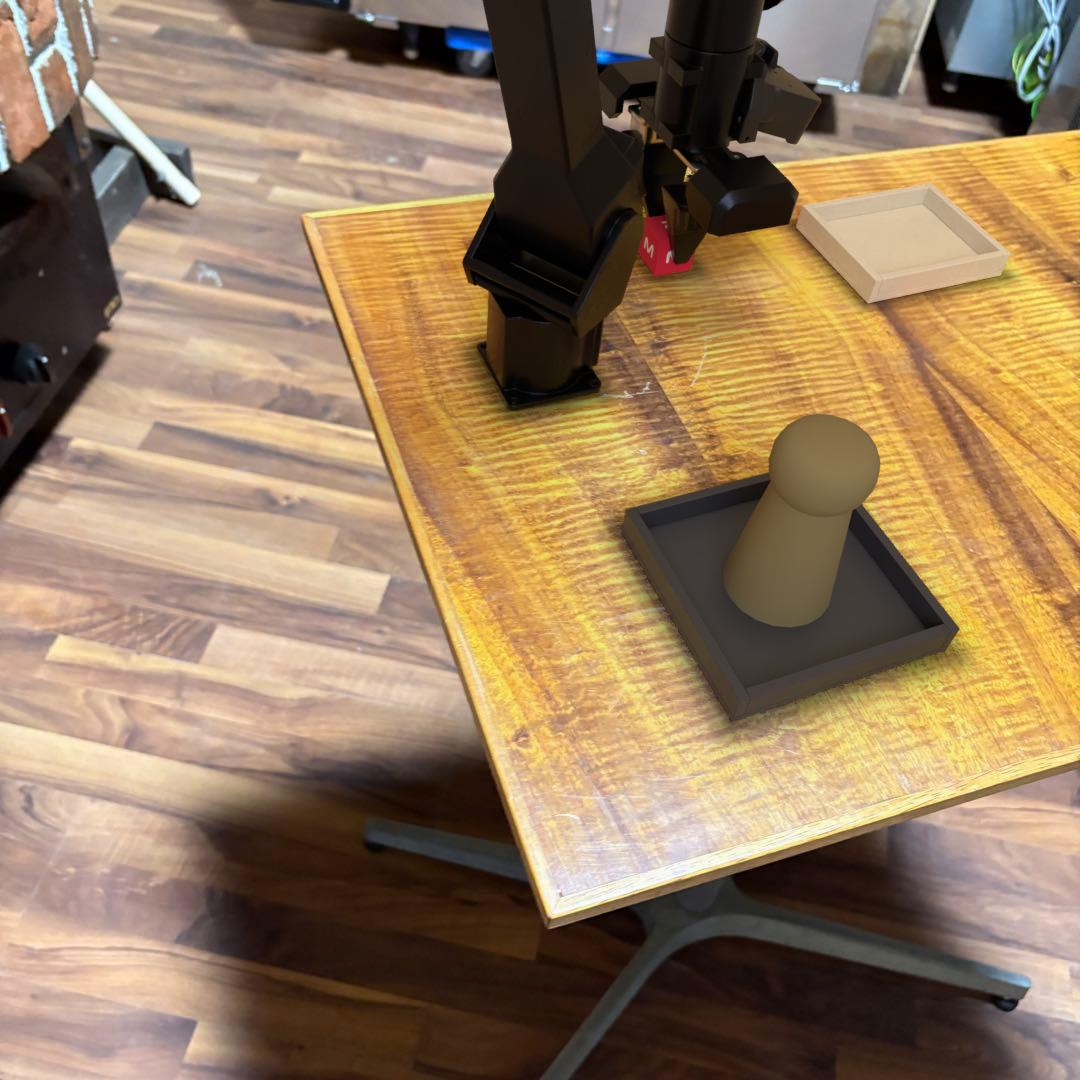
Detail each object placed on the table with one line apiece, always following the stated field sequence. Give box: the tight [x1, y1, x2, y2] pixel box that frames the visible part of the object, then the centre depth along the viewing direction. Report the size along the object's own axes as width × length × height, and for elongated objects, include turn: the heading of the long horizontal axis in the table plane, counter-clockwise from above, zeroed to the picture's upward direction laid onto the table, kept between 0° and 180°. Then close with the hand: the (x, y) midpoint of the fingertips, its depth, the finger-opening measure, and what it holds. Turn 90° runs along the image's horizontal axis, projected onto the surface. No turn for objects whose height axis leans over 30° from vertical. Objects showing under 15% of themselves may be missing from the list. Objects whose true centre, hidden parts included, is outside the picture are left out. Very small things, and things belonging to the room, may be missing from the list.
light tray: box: [795, 182, 1012, 304], centre depth 79 cm, size 12×10×2 cm
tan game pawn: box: [723, 413, 882, 627], centre depth 52 cm, size 6×6×11 cm
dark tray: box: [621, 471, 961, 723], centre depth 56 cm, size 13×13×2 cm
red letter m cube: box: [637, 215, 696, 277], centre depth 75 cm, size 3×3×3 cm
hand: (670, 249), depth 76 cm, fingers closed on red letter m cube, 3 cm apart
